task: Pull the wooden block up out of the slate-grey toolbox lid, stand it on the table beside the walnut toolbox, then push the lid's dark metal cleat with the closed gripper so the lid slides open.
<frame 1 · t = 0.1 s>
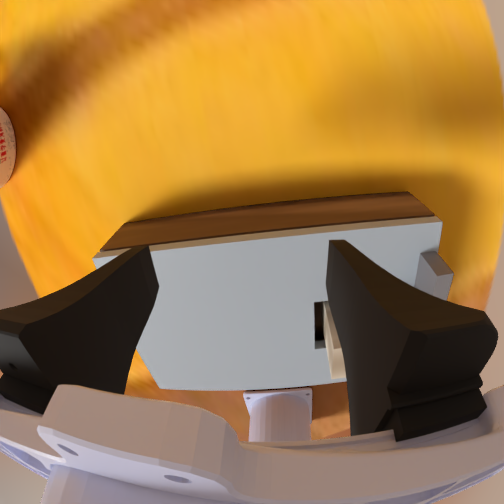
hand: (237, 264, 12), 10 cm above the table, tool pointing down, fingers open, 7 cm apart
wooden block: (340, 299, 21), point 3 cm above the table, touching toolbox
toolbox lid: (273, 340, 19), point 6 cm above the table, slide at 0.0 cm
toolbox: (273, 284, 24), on the table
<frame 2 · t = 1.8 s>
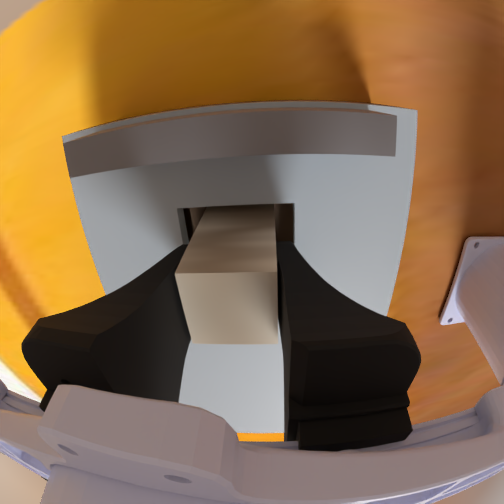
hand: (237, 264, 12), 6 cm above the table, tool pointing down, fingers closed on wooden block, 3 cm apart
wooden block: (243, 229, 14), point 3 cm above the table, touching gripper, toolbox
toolbox lid: (246, 354, 14), point 6 cm above the table, slide at 0.0 cm
toolbox: (252, 280, 19), on the table
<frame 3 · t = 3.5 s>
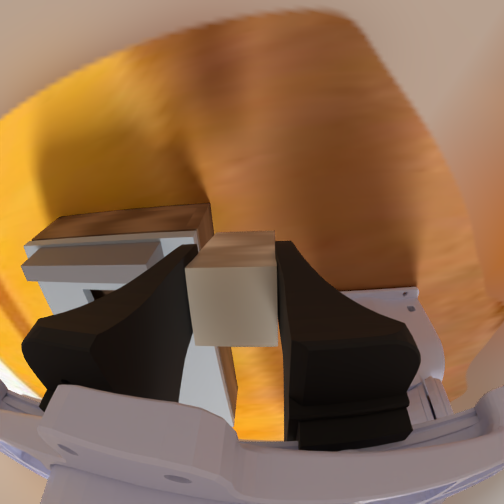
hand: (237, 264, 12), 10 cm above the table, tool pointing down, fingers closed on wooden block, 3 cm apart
wooden block: (246, 259, 16), point 6 cm above the table, tilted 15°, touching gripper
toolbox lid: (133, 366, 22), point 6 cm above the table, slide at 0.0 cm
toolbox: (154, 317, 27), on the table
when the fingers open (4 cm above the table, at t = 4.8 s): wooden block stays where it is, on the table.
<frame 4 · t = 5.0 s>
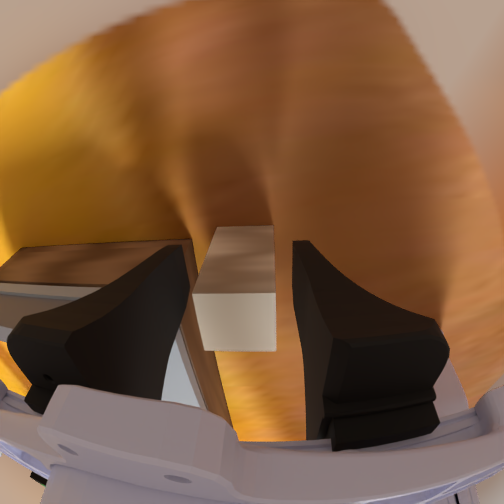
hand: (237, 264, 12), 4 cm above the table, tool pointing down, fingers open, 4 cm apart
wooden block: (246, 250, 16), on the table
toolbox lid: (112, 422, 17), point 6 cm above the table, slide at 0.0 cm, touching gripper
toolbox: (135, 361, 22), on the table
puzzle toy: (57, 463, 58), on the table
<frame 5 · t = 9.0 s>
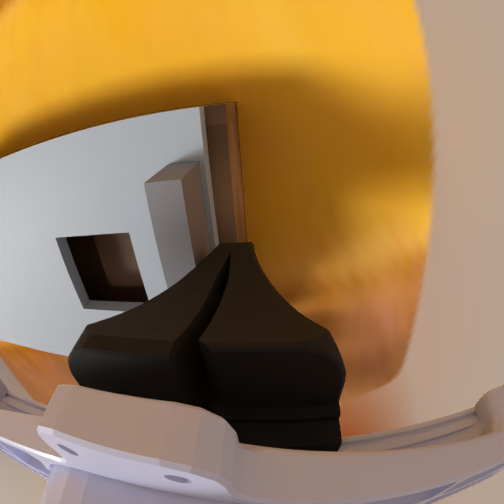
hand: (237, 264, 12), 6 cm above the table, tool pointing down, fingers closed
toolbox lid: (29, 283, 13), point 6 cm above the table, slide at 0.8 cm, touching gripper
toolbox: (87, 232, 18), on the table
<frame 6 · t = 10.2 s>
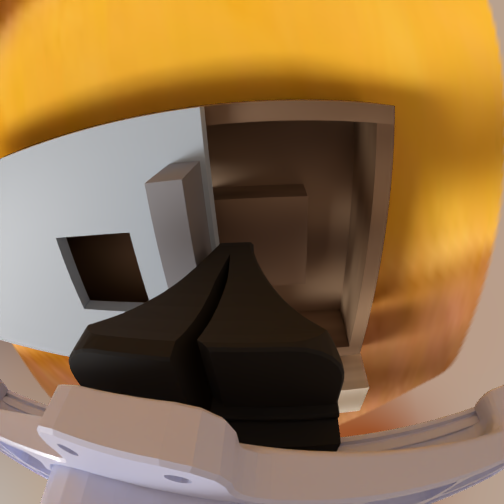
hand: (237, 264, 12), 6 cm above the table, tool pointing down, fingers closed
wooden block: (330, 338, 22), on the table
toolbox lid: (29, 283, 13), point 6 cm above the table, slide at 7.5 cm, touching gripper
toolbox: (176, 226, 18), on the table
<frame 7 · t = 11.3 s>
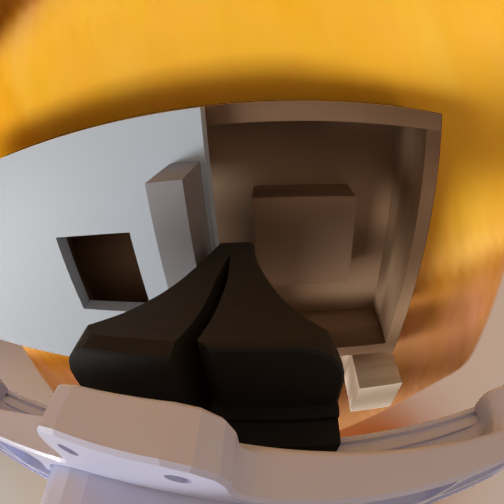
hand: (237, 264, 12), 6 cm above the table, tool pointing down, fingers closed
wooden block: (359, 336, 22), on the table
toolbox lid: (29, 283, 13), point 6 cm above the table, slide at 9.9 cm, touching gripper
toolbox: (215, 224, 18), on the table
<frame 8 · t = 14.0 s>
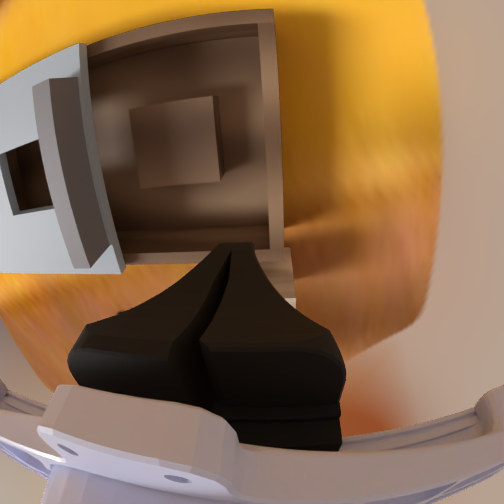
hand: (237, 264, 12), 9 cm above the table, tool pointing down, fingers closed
wooden block: (270, 264, 23), on the table
toolbox: (119, 147, 19), on the table
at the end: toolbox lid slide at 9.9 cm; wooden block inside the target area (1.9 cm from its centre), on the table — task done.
